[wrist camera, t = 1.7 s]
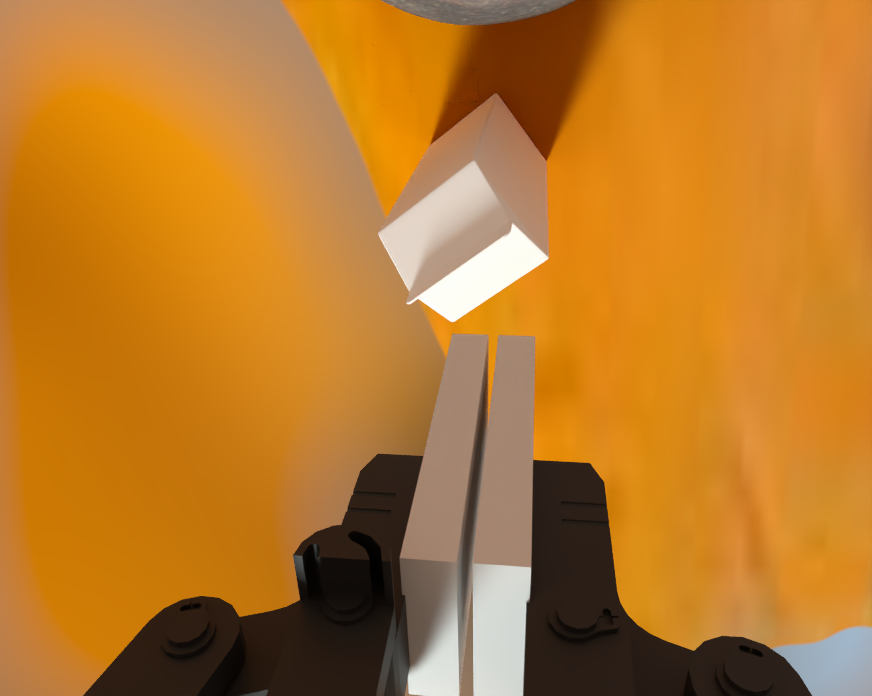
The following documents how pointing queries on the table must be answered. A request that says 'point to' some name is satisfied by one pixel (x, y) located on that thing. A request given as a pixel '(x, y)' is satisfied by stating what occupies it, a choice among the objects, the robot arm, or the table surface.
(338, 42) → the table surface
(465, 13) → the jug
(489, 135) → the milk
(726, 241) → the table surface
